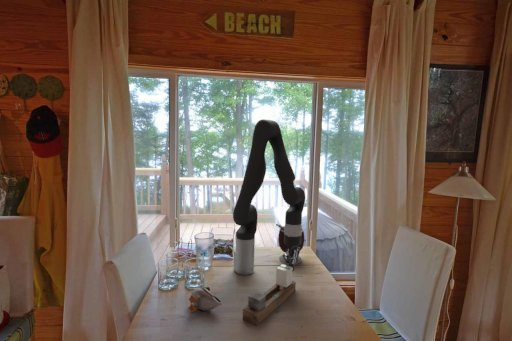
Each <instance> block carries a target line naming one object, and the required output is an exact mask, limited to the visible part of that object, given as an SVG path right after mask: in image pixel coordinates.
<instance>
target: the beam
mask: <svg viewBox="0 0 512 341" xmlns="http://www.w3.org/2000/svg"><path fill="white" fill-rule="evenodd" d="M296 286H297V283H296V281H294V280H292V283H291V284H290V285H289V286H288V287H287V288H286V287H284V288H283V289H282V290H280V289H279V288H280V285H277V284H276V283H275V284H274V285H272V286H271V287H270V288H269V289H267V290H265V291H264V292H263V293H259V292H257V291H253V292H252V293H251V294H249V295H248V296H247V297H248V302H247V303H248V305H247V306H245V307H244V308H242V320H243V321H245V322H248V323H250V324H252V325H254V326H258V325H259V324H260V323H261V322H262V321H263V320H264V319H266V318H267V317H268V316H269V315H270V314H271V313H272V312H273V311H275V310H276V308H278V307H279V306H280V305H281V304H283V302H284V301H286V300H287V299H288V298H289V297H290V296H291V295H292V294H294V292H296Z"/></svg>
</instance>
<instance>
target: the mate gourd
mask: <svg viewBox="0 0 512 341" xmlns="http://www.w3.org/2000/svg"><path fill="white" fill-rule="evenodd" d="M275 226H277V227H278V228H279V231H278V237H277V238H278V246H279V248H280V250H281V251H282V252H283V253H286V248H287V245H286V244H285V243H284V228H285V225H284V226H282V225H280V224H278V223H276V224H275ZM304 244H305V232H304V228H302V236H301V245H299V246H298V247H300V248H301V250H303V247H304ZM278 260H279V261H280V263H282V264H284V265H286V264H287V265H289V263H286V262H285V259H284V257H283V254H282V255H279V259H278ZM302 260H303V259H302V257H301V256H298V259H297V260H296V262H295V265H298V263H299V264H301V263H302V262H303V261H302ZM301 261H302V262H301Z"/></svg>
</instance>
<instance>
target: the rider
mask: <svg viewBox="0 0 512 341" xmlns="http://www.w3.org/2000/svg"><path fill="white" fill-rule="evenodd" d="M292 271H293V267H290V266H289V265H288V264H287V265H286V264H284V263H282V264H281V265H278V266H277V267H276V271H275V272H276V273H275V274H276V275H275V284H277V285H280V288H279V289H280V290H282V289H283V288H284V287H286V288H287V287H288V286H289V285H290V284H291V283H292V281H293V272H294V271H293V272H292Z"/></svg>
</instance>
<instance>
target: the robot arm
mask: <svg viewBox="0 0 512 341" xmlns="http://www.w3.org/2000/svg"><path fill="white" fill-rule="evenodd" d="M268 143H269V145H270V147H271V148H272V152H273V165H274V170H275V173H276V176H277V178H278V180H279V182H280V184H279V185H280V190H281V196H282V198H283V200H284V202H285V203H286V205H289V206H288V209H287V210H286V211H285V219H284V220H285V221H284V222H285V223H284V226H285V228H284V243H285V244H286V245H287V248H286V252H285V253H283V254H282V255H283V257H284V259H285V262H286V263H289V264H288V266H290V267H293V271H292V273H294V272H295V266H296V264H295V262H296V260H297V259H298V256H299V255H300V253H301V250H302V249H301V248H300V247H298V246H299V245H301V236H302V229H303V226H302V221H303V217H302V216H303V211H304V208H305V202H306V193H305V191H304V189H303V188H302V187H299V186H296V187H295V180H296V175H295V172H294V170H293V168H292V164H291V163H290V159H289V157H288V154H287V150H286V147H285V143H284V140H283V135H282V129H281V126H280V125H279V123H278V122H277V121H274V120H270V119H260V120H258V121H257V122H256V124H255V125H254V129H253V133H252V142H251V145H250V146H251V147H250V151H249V156H248V160H247V165H246V166H245V167H246V168H245V172H244V175H243V180H242V183H241V184H242V185H241V189H240V192H239V195H238V198H237V200H236V203H235V206H234V208H233V209H234V210H233V214H232V218H233V221H234V223H235V224H236V225H237V226H240V227H239V228H237V230H236V232H235V251H233V271H234V272H235V273H236V274H238V275H243V276H244V275H245V276H246V275H251V274H253V273H254V272H255V271H254V270H255V243H256V242H255V240H256V239H255V238H256V237H255V236H256V235H255V234H257V226H258V209H257V208H256V207H255V205H254V204H252V201H253V199H254V198H255V196H256V195H257V193H258V191H259V190H260V189H261V187H262V185H263V183H264V180H265V176H266V173H267V164H266V157H265V153H266V149H267V146H268ZM299 257H300V256H299Z"/></svg>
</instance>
